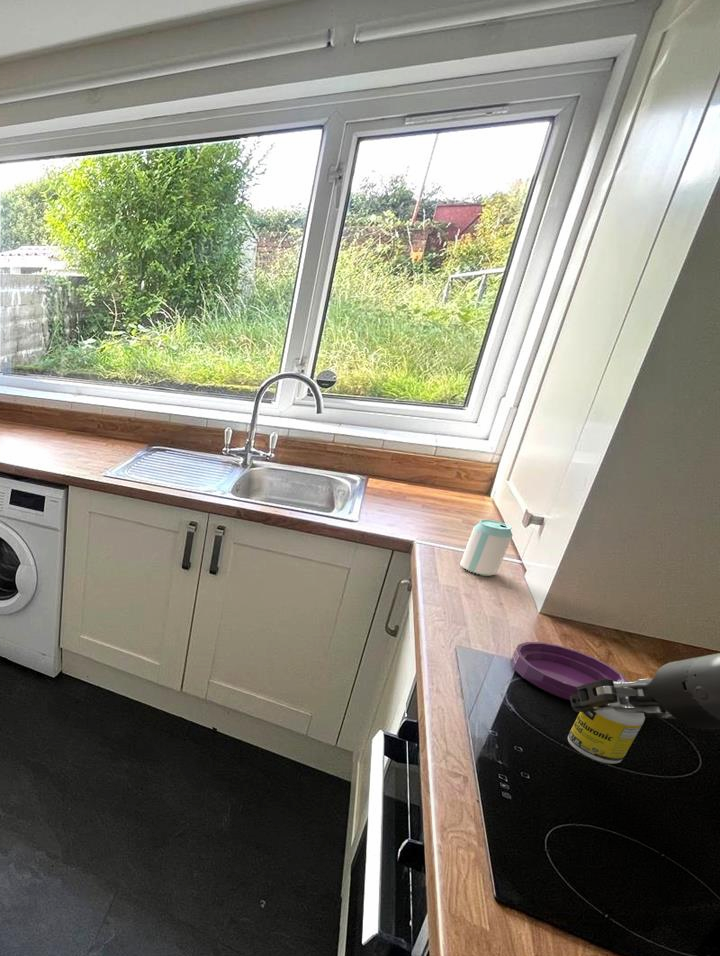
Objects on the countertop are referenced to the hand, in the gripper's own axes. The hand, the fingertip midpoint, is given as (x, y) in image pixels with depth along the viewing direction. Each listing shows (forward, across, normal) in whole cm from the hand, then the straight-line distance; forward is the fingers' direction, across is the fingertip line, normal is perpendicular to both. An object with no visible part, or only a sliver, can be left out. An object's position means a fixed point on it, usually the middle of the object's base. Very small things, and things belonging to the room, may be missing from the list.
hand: (600, 706), depth 77 cm
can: (+54, -22, -40) cm, 71 cm away
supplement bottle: (+3, 0, +6) cm, 6 cm away
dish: (+22, -12, -8) cm, 27 cm away
